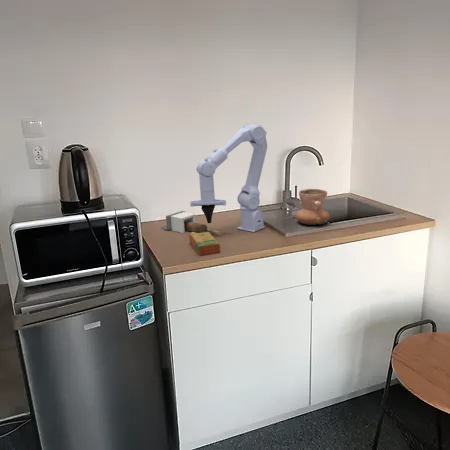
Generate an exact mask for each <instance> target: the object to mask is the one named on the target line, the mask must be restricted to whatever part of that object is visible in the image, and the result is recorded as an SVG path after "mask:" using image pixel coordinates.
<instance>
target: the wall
mask: <svg viewBox="0 0 450 450" xmlns="http://www.w3.org/2000/svg"><path fill="white" fill-rule="evenodd" d="M182 212H186V213H187V211H186V210H185V211H184V210H181V211H177V212H174V213H171V214H168V215H165V221H166V225H165V226H160V229H161V230H165V231H167V232H169V231H170V232H171V231H172V226H171V216H173V215H176V214H179V213H182Z"/></svg>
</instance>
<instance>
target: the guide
mask: <svg viewBox="0 0 450 450" xmlns="http://www.w3.org/2000/svg"><path fill="white" fill-rule="evenodd" d="M207 232H209V233H210V234H214V235H217V236H218V235H219V236H223V231H219V230H215V229H214V230H213V229H209V228H207ZM195 233H196V232H191V231H190V234H195Z"/></svg>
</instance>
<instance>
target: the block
mask: <svg viewBox="0 0 450 450" xmlns="http://www.w3.org/2000/svg"><path fill="white" fill-rule="evenodd" d="M184 221H188V222H193V223H196V214H195V213H190V212H187V211H186V212H182V213H179V214H176V215H173V216H171V226H172V230H171V231H173V232H177V233H181V234H184V233H185V232H186V230H185V229H184Z"/></svg>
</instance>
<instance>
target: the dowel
mask: <svg viewBox="0 0 450 450" xmlns="http://www.w3.org/2000/svg"><path fill="white" fill-rule="evenodd" d="M184 229H185V232H186V231H188V232H190V233H191V232H195V233H203V232H207V229H208V226H207V224H205V223H198V222H195V223H193V222H188V221H184Z"/></svg>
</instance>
